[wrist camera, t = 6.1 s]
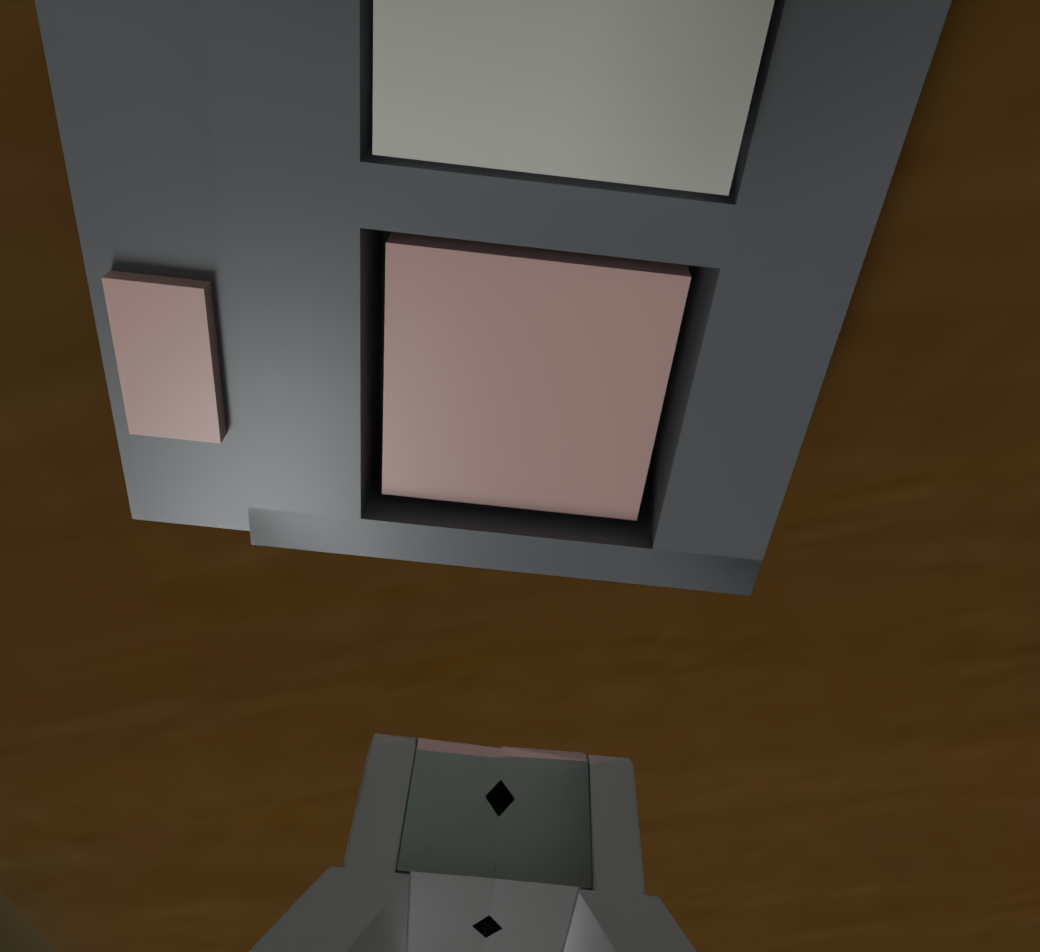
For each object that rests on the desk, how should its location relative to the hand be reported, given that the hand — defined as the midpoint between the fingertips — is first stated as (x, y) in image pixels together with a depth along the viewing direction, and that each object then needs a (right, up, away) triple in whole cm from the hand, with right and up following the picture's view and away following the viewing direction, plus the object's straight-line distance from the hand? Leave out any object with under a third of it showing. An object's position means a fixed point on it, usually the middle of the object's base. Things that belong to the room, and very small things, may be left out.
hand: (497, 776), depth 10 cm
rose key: (0, +6, +10) cm, 12 cm away
